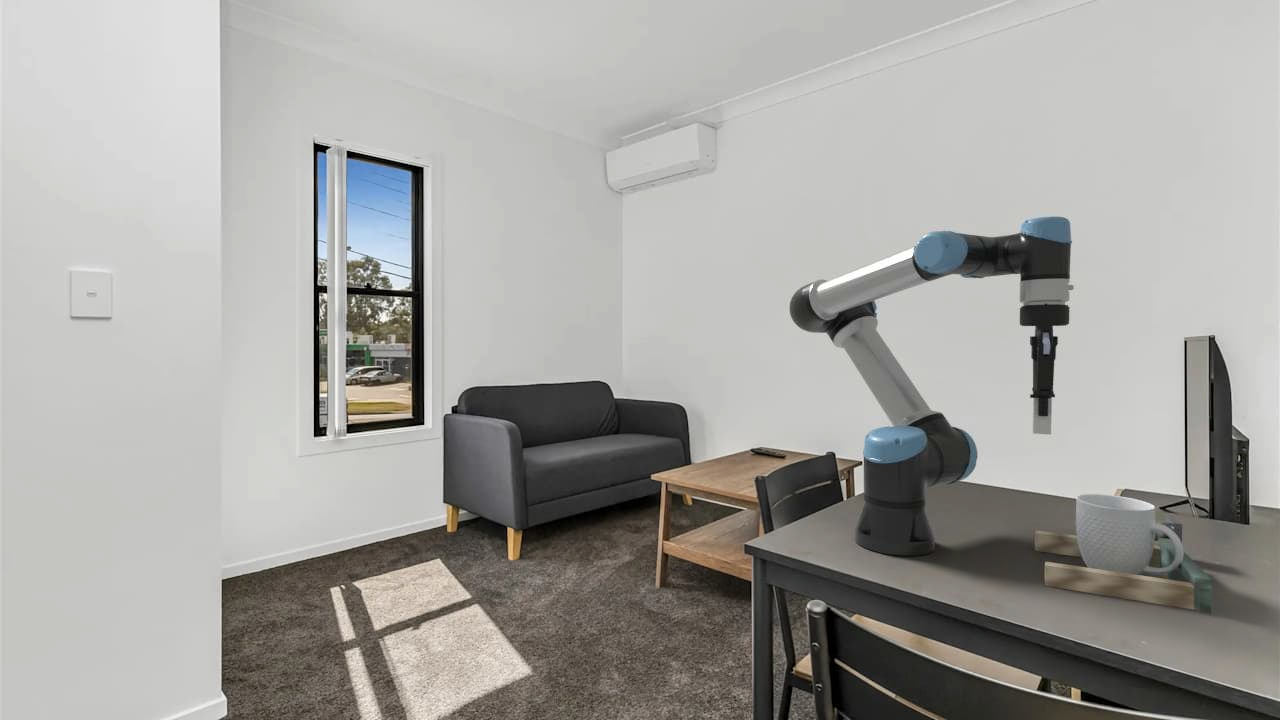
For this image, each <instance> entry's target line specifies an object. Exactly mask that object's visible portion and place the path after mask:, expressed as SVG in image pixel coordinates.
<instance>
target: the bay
mask: <svg viewBox="0 0 1280 720" xmlns="http://www.w3.org/2000/svg"><path fill="white" fill-rule="evenodd" d="M1034 532H1035V533H1034V550H1035V551H1036V552H1042V553H1043V552H1044V553H1049V554H1057V555H1064V556H1071V557H1078V558H1082V556H1081V553H1080V549H1079V545H1078V542H1077V536H1076V535H1077V534H1076V535H1075V534H1067V533H1060V532H1059V533H1058V532H1052V531H1045V530H1038V529H1037V530H1034ZM1157 545H1158V546H1156V544H1154V546H1153V553H1152V557H1151V559H1150V562H1149V564H1148V566H1150V567H1154V568H1164V567H1167V566H1169V565H1171V564H1172V562H1173V561H1174V558H1175V547H1174V544H1173V542H1172V540H1171V539H1165V538H1158V541H1157ZM1164 575H1165V576H1166V577H1167V578H1160V577H1154V576H1149V575H1147V576H1146V575H1143V574H1142V575H1135V574H1128V573H1121V572H1114V571H1107V570H1100V569H1093V568H1088V567H1087V566H1086V567H1085V566H1078V565H1071V564H1066V563H1065V564H1064V563H1057V562H1051V561H1044V581H1043V582H1044V585H1045V587H1051V588H1058V589H1065V590H1071V591H1075V592H1081V593H1082V592H1083V593H1089V594H1095V595H1100V596H1101V595H1102V596H1106V597H1107V596H1108V597H1112V598H1113V597H1114V598H1119V599H1126V600H1132V601H1139V602H1143V603H1144V602H1145V603H1151V604H1157V605H1162V606H1169V607H1176V608H1181V609H1188V610H1194V611H1198V612H1199V611H1201V612H1206V613H1211V611H1212V588H1213V587H1212V586H1213V585H1212V583H1213V581H1212V578H1210V576H1209V575H1207V573H1205V572H1204V571H1203V569H1202V568H1201V567H1200V566H1199V565H1198V564H1197V563H1196V562H1195V561H1194V560H1193V559H1192V558H1191V557H1190V556H1189V554H1187V552H1185V551H1184V555H1183V560H1182V562H1181V564H1180V566H1179V567H1178V568H1177V569H1176V570H1174V571H1172V572H1169V573H1164Z"/></svg>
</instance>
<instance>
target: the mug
mask: <svg viewBox="0 0 1280 720" xmlns="http://www.w3.org/2000/svg"><path fill="white" fill-rule="evenodd" d="M1075 502H1076V508H1075V531H1076V532H1075V534H1076V536H1077V542H1078V545H1079V549H1080V553H1081V556H1082V557H1081V558H1082V561H1083V562H1084V564H1085V566H1086V567H1087V568H1093V569H1100V570H1107V571H1114V572H1121V573H1128V574H1135V575H1142V576H1143V574H1144V573H1146V574H1155V575H1156V574H1157V575H1158V574H1159V575H1161V574H1162V575H1165V573H1169V572H1172V571H1174V570H1176V569H1177V568H1178V567H1179V566H1180V564H1181V562H1182V560H1183V555H1184V552H1185V551H1184V547H1183V542H1182V543H1181V541H1180V539H1179V537H1178V536H1177V535H1176V534H1175V533H1174V532H1173V531H1172V530H1171V529H1169V528H1167V527H1165V526H1163V525H1160V524H1156V523H1155V522H1157V521H1156V506H1155V505H1153V504H1152V503H1149V502H1147V501H1144V500H1140V499H1136V498H1132V497H1125V496H1118V495H1112V494H1104V493H1103V494H1101V493H1100V494H1099V493H1085V494H1079V495H1077V496H1076V501H1075ZM1155 531H1160V532H1163V533H1165V534H1166V535H1167V536H1168V537H1169V538H1170V539H1171V540H1172V542H1173V544H1174V547H1175V558H1174V561H1173V562H1172V564H1171V565H1169V566H1167V567H1164V568H1156V567H1150V566H1148V564H1149V562H1150V559H1151V557H1152V553H1153V546H1154V545H1155V541H1154V540H1155V539H1154V538H1155Z"/></svg>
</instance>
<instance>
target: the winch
mask: <svg viewBox="0 0 1280 720" xmlns="http://www.w3.org/2000/svg"><path fill="white" fill-rule="evenodd" d="M1155 523H1156V524H1160V525H1163V526H1165V527H1167V528H1169V529H1171V530H1172V531H1173V532H1174V533H1175V534H1176V535H1177V536H1178V537H1179V539H1180V541H1181V543H1182V544H1183V523H1181V521H1180V520H1178V519H1177V518H1176V517H1175V516H1167V515H1166V516H1165V522H1164V521H1163V522H1162V521H1156V522H1155ZM1158 538H1165V539H1170V538H1169V537H1168V536H1167V535H1166V534H1165V533H1163V532H1160V531H1155V538H1154V539H1155V540H1154V542H1158ZM1155 545H1156V544H1155ZM1156 546H1158V544H1157V545H1156Z"/></svg>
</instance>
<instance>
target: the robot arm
mask: <svg viewBox="0 0 1280 720" xmlns="http://www.w3.org/2000/svg"><path fill="white" fill-rule="evenodd" d="M1072 244H1073V241H1072V232H1071V221H1070V220H1069V219H1068V218H1066V217H1063V216H1043V217H1041V216H1039V217H1036V218H1030V219H1027V220H1024V221H1023V222H1022V223H1021V226H1020V232H1018V233H1014V234H1009V235H1001V236H984V235H974V234H968V233H959V232H956V231H951V230H941V231H939V230H937V231H935V230H934V231H931V232H928V233H926V234H924V235H923V236H922V237H921V239H920V240H919V241H918V242H917V243H916V245H915V246H911V247H909V248H906V249H904V250H902V251H899V252H897V253H894V254H891V255H889V256H887V257H884V258H882V259H879V260H876V261H874V262H872V263H869V264H867V265H865V266H862V267H859V268H856V269H855V270H852V271H850V272H847V273H845V274H842V275H840V276H837V277H835V278H832V279H830V280H826V279H818V280H815V281H812V282H810V283H807V284H805V285H803V286H801V287H799V288H798V289H797V290H796V291H795V292H794V294H792V296H791V299H790V302H789V316H790V317H791V319H792V321H793V323H794V324H795V325H796V326H797V327H799V328H800V329H801V330H803V331H806V332H808V333H812V334H813V333H814V334H815V333H818V334H820V333H821V334H823V333H824V334H827V336H828V337H829V339H830V340H831V341H832V343H833V345H834V346H835V347H836V348H841V349H844V350H845V352H846V354H847V355H848V357H849V358H850V360H851V362H852V363H853V365H854V366H855V368H856V369H857V371H858V373H859V375H861V377H862V379H863V380H864V382H865V384H866V385H867V387H868V389H869V391H870V392H871V393H872V395H873V396H874V398H875V400H876V401H877V403H878V404H879V405H880V407H881V409H882V411H883V412H884V413H885V415H886V417H887V419H888V420H889V422H890V423H891V425H892V426H890V425H889V426H882V427H878V428H875V429H872V430H870V431H868V432H867V434H866V435H865V438H864V447H863V449H862V454H863V505H862V507H861V510H860V513H859V515H858V518H857V520H856V523H855V527H854V542H856V543H857V544H858V545H859V546H861V547H862V548H865V549H868V550H871V551H874V552H877V553H881V554H887V555H894V556H905V557H906V556H909V557H912V556H915V557H917V556H924V555H927V554H928V555H929V554H930V553H932V552H934V551H935V549H936V537H935V535H934V531H933V527H932V525H931V521H930V518H929V516H928V513H927V509H926V508H927V507H926V500H927V499H926V498H927V497H926V495H927V494H926V493H927V491H926V490H927V488H933V487H939V486H943V485H944V486H945V485H948V486H949V485H952V484H956V483H957V482H959V481H963V480H965V479H968V477H969V476H970V475H971V474H972V473H973V472H974V470H975V468H976V466H977V460H978V448H977V445H976V443H975V440H974V439H973V438H972V436H971V435H970V434H969V433H968V432H967V431H965V430H964V429H962V428H958V427H956V426H952V425H951V423H950V422H949V421H948V419H947V418H946V416H945V415H944V414H943V412H941V411H936V410H932V409H931V408H930V406H929V405H928V404H927V402H926V400H925V399H924V397H923V396H922V394H921V393H920V391H918V389H917V387H916V386H915V385H914V383H913V382H912V380H911V379H910V377H909V375H908V374H907V373H906V371H905V370H904V368H903V367H902V365H901V364H900V362H899V361H898V360H897V358H896V357H895V355H894V354H893V353H892V351H891V350H890V348H889V346H888V345H887V344H886V342H885V341H884V339H883V337H882V336H881V334H879V332H878V331H877V328H878V325H879V324H878V323H879V321H878V319H877V315H878V313H877V312H876V310H877V309H878V307H877V304H876V303H877V302H876V300H879V299H882V298H885V297H888V296H891V295H894V294H896V293H900V292H903V291H905V290H908V289H911V288H914V287H917V286H919V285H923V284H925V283H928V282H929V283H930V282H932V281H934V280H935V281H936V280H938V279H941V278H944V277H946V276H951V275H959V276H961V277H962V278H965V279H984V278H990V277H998V276H999V277H1000V276H1007V275H1008V276H1009V275H1020V281H1019V303H1020V304H1023V306H1020V308H1019V325H1020V326H1021V327H1034V328H1035V330H1034V336H1033V335H1031V336H1030V337H1029V344H1030V346H1031V347H1030V348H1031V350H1030V351H1031V355H1030V357H1031V359H1032V387H1031V391H1032V393H1030V394H1029V396H1030V397H1029V398H1031V399H1032V434H1034V435H1035V434H1036V435H1037V434H1038V435H1052V406H1053V405H1052V403H1053V402H1052V401H1053V398H1056V394H1055V392H1054V380H1055V379H1054V377H1055V360H1056V359H1057V357H1056V356H1057V346H1058V344H1059V342H1058V341H1059V337H1058V336H1056V335H1054V328H1053V327H1060V326H1061V327H1062V326H1065V327H1066V326H1068V325H1069V324H1070V309H1071V308H1070V306H1069V305H1068V304H1066V302H1067V303H1068V302H1069V301H1070V291H1073V290H1074V289H1075V286H1074V284H1070V279H1071V274H1070V272H1071V250H1072Z"/></svg>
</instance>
